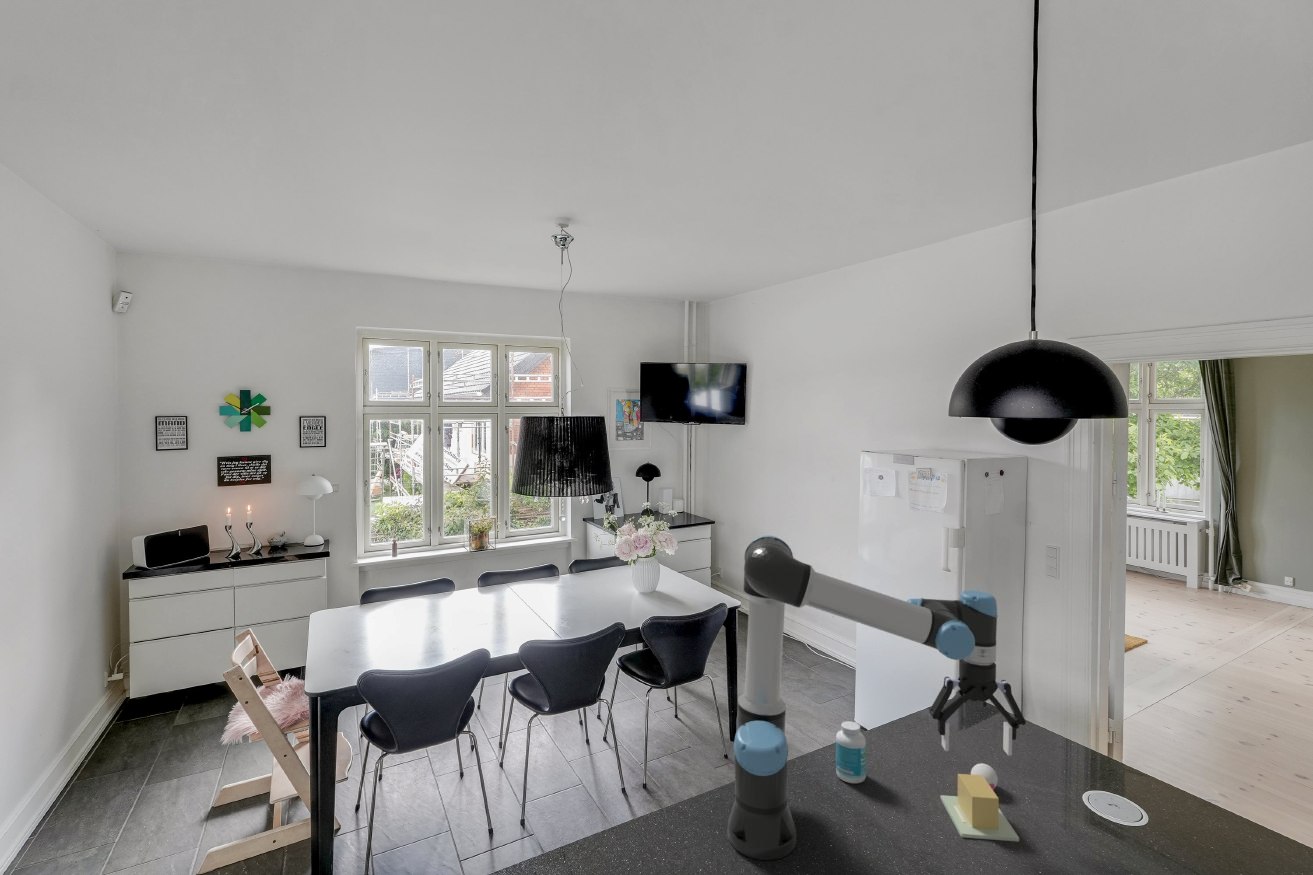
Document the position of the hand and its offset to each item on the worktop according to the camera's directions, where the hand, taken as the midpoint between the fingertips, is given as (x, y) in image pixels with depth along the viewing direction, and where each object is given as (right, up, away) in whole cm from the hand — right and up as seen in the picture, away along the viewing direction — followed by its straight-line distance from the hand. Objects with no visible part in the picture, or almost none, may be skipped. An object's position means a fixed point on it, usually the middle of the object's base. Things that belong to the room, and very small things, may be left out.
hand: (976, 750), depth 140 cm
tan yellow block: (+1, -15, 0) cm, 15 cm away
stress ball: (+8, -16, +12) cm, 21 cm away
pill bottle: (-23, -16, +18) cm, 33 cm away
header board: (+1, -16, 0) cm, 16 cm away
